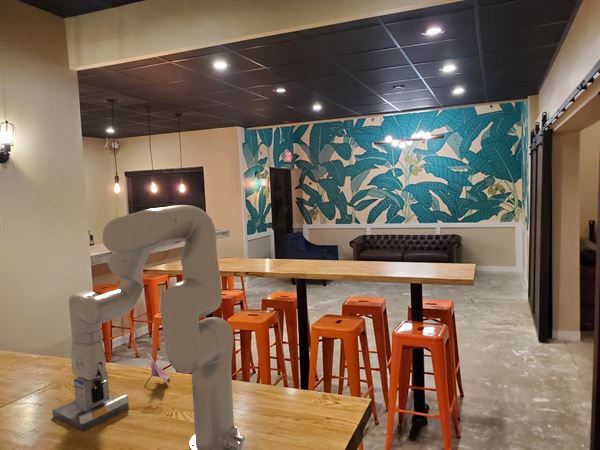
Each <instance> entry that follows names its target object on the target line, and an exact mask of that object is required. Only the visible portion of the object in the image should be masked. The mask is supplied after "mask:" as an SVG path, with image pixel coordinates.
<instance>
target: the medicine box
mask: <svg viewBox="0 0 600 450" xmlns="http://www.w3.org/2000/svg"><path fill="white" fill-rule="evenodd" d="M106 375H107V378H108V379H107V380H106V381H105V383H104V386H103V392H104V399H102V400H100V401H98V402H96V403H93V402H92V391H91V389H93V387H92V383H91V381H90V380H86V379H84V378H81V377H76V378H74V379H73V386H74V387H73V389H74V398H75V399H74V400H75V401H76V408H77V409H79V410H82V411H88V410H90V409H92V408H94V407H96V406H97V405H99V404H101V403H103V402H105V401H107V400H109V395H110V390H109V374H108V371H107V370H106ZM96 376H98V374H97V375H96ZM98 380H99V378H98V379H95V382H97V381H98Z"/></svg>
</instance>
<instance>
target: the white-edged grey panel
mask: <svg viewBox="0 0 600 450" xmlns="http://www.w3.org/2000/svg"><path fill="white" fill-rule="evenodd" d="M129 408H130V407H129V396H128V395H127V394H124V395H121V396H119V397H116V396H114V395H111V394H109V400H107V401H105V402H103V403H101V404H99V405H97V406H96V407H94V408H92V409H90V410H88V411H82V410H79V409H77V408H76V401H75V399H74V400H72V401H70V402H68V403H66V404H63V405H60V406H58V407H57V408H54V409H52V411H51V412H52V417H53V418H55V419H56V420H58V421H61V422H63V423H65V424H67V425H69V426H71V427H73V428H75V429H77V430H79V431H80V432H85V431H87V430H89V429H91V428H93V427H95V426H97V425H99V424H101V423H103V422H105V421H107V420H109V419H111V418H113V417H115V416H117V415H120V414H121V413H123V412H125V411H127V410H129Z"/></svg>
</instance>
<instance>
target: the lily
mask: <svg viewBox="0 0 600 450" xmlns="http://www.w3.org/2000/svg"><path fill="white" fill-rule="evenodd" d="M146 354H147V356H148V357H149V359H150V361H151V362H149V361H148V362H146V364H148V365H149V366H150V367H151V375H150V376H149V378H148V379H147V380H146V382H145V384H144V388H146V387H147V384H148V383H149V381H150V380H151V378H152V377H158V378H160V379H161V380H163V381H164V382H165V383H166V384H167V386H168V387H170V384H169V382H168V380H167V379H171V377H170V375H169V374H168V373H167V372H166V371H165V370H164V367H162V366H159V364H158V363H157V362H156V361H155V360H154V358H153V357H152V356H151V354H150V353H148V352H146Z"/></svg>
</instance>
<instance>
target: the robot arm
mask: <svg viewBox="0 0 600 450" xmlns="http://www.w3.org/2000/svg"><path fill="white" fill-rule="evenodd" d="M216 234H217V233H216V228H215V224H214V221H213V220H212V218H211V217H210V215H209V214H208V213H207V212H206V211H204V210H203V209H202V208H200V207H198V206H194V205H188V204H186V205H185V204H183V205H182V204H181V205H179V204H177V205H169V206H163V207H155V208H154V207H153V208H148V209H147V208H146V209H143V210H139V211H137V212H133V213H129V214H127V215H126V214H125V215H122V216H119V217H114V218H112V219H111V220H109V221H108V222H107V224H106V225H105V226H104V228H103V231H102V242H103V245H104V247H105V248H106V250H108V251H109V252H111V255H110V257H109V258H108V263H107V266H108V268H109V270H110V271H111V272H112V273H113V274H114V275H116V276H117V277H119V278H121V281H120V283H119V286H118V287H117V288H116V289H113V290H110V291H106V292H103V293H100V294H98V293H97V292H96V291H91V290H85V291H79V292H75V293H73V294H71V295H70V296H69V299H68V306H69V319H70V320H69V321H70V329H71V339H72V342H71V349H70V350H71V353H70V356H71V372H72V374H73V375H74V376H76V378H78V377H81V378H84V379H86V380H90V381H91V383H92V387H93V389H91V391H92V402H93V403H96V402H98V401H100V400H102V399H104V392H103V386H104V383H105V381H106V380H107V379H108V380H109V377H108V378H107V375H106V371H107V364H106V356H105V350H104V344H103V341H102V340H103V334H102V324H104V323H107V322H109V321H112V320H114V319H116V318H117V319H118V318H120V317H123V316H125V315H128V313H130V312H132V310H133V309H134V308H135V306H136V305H137V303H138V301H139V299H141V298H140V297H141V295H142V293H143V291H144V278H143V275H142V270H143V268H144V267H145V265H146V262H147V261H148V259H149V256H150V255H151V253H152V251H153V249H154V248H155V247H156V246H162V245H165V244H170V243H174V242H178V241H183V242H184V245H183V248H182V252H181V262H180V263H181V269H182V270H181V271H182V281H179V282H175V283H174V284H171V285H170V286H169V287H167V288H166V289H165V291H164V292H163V294H162V296H161V301H160V306H159V307H160V317H161V324H162V333H163V341H164V347H165V353H166V356H167V359H168V362H169V364H170V365H171V367H172V368H173V369H174V370H175V371H176V372H178V373H181V374H191V384H192V386H191V389H192V390H191V391H192V407H193V421H194V422H193V423H194V435H192V437H191V438H190V440H189V442H188V443H189V444H188V445H189V447H188V448H189V450H242V449H243V443H244V442H245V440H246V438H245V436H243V435H241V433H240V431H239V430H238V426H236V425H235V421H234V419H235V418H234V401H233V399H234V398H233V383H232V382H233V379H232V377H233V375H232V357H233V349H234V333H233V328H232V327H231V325H230V324H229V322H228V321H226V320H225V319H223V318H221V317H219V316H218V317H217V316H212V317H206V316H208V315H210V314H212V313H213V312H215V311H216V310H218V309H219V308H220V306H221V305H222V302H223V290H222V282H221V275H220V274H221V273H220V267H219V261H218V260H219V259H218V252H217V235H216ZM204 317H206V318H204ZM203 318H204V319H203ZM200 319H201V320H200ZM199 320H200V321H199ZM97 374H98V376H96V375H97ZM98 378H99V380H98V381H97V382H95V379H98Z"/></svg>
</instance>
